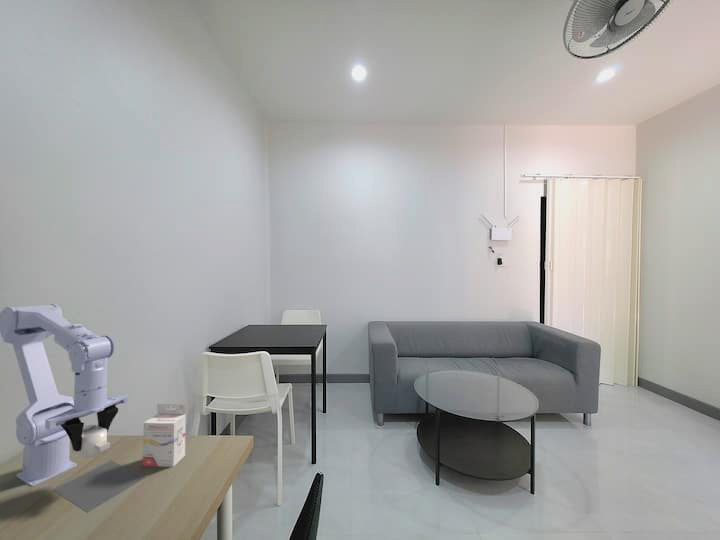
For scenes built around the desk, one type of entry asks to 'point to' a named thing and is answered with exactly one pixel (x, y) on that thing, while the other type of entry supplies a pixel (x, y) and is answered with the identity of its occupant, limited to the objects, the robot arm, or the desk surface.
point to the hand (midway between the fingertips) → (89, 444)
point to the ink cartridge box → (165, 436)
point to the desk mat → (98, 485)
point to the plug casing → (93, 441)
